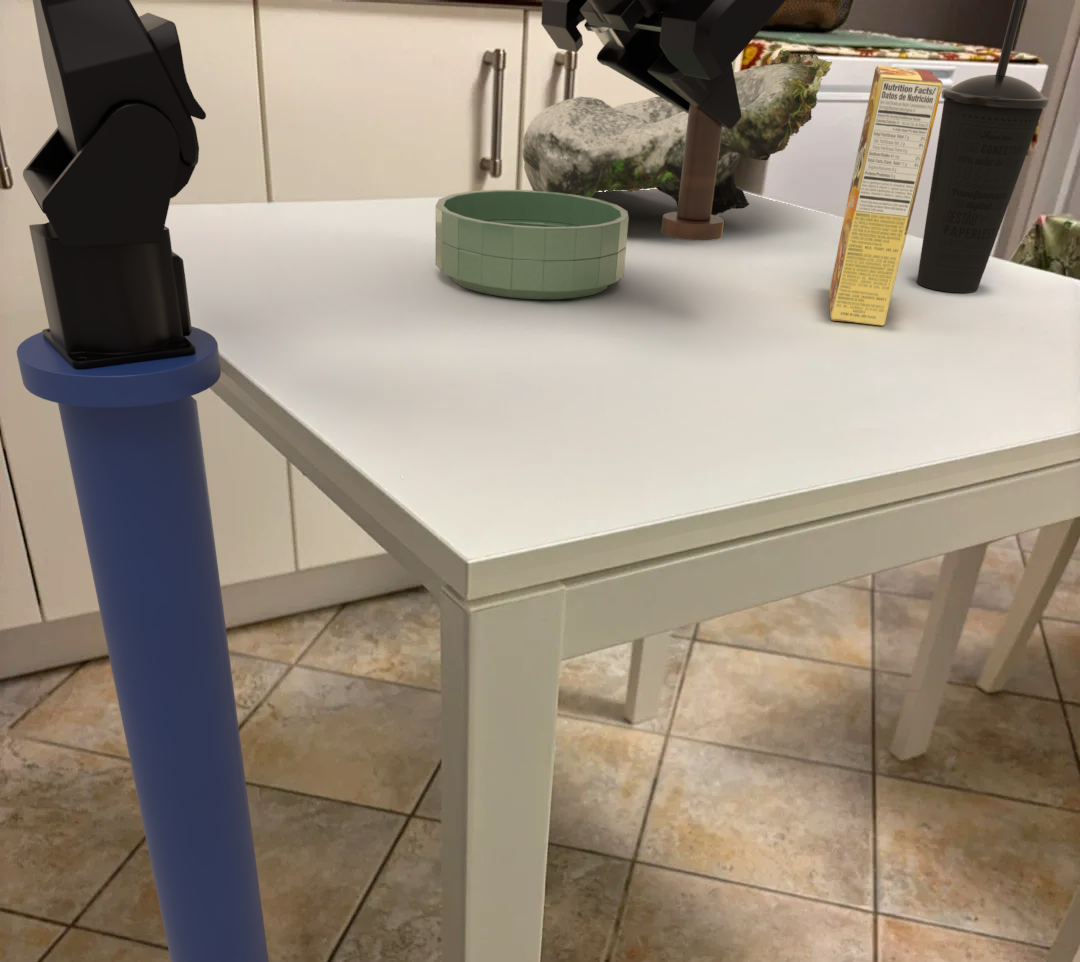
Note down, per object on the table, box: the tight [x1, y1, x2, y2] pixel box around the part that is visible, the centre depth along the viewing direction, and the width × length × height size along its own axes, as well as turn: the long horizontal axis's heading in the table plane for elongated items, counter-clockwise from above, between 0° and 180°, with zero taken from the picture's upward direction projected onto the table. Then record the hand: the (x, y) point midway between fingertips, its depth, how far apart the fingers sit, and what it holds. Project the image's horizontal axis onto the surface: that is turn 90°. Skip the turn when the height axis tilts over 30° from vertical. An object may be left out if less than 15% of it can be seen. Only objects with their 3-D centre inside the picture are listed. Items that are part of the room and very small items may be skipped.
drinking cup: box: [916, 0, 1050, 294], centre depth 84 cm, size 8×8×20 cm
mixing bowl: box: [435, 189, 630, 301], centre depth 83 cm, size 14×14×5 cm
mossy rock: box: [521, 49, 833, 216], centre depth 104 cm, size 29×30×15 cm
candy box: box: [829, 65, 944, 326], centre depth 78 cm, size 9×4×15 cm, turn 168°
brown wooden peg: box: [660, 103, 725, 242], centre depth 69 cm, size 4×4×13 cm
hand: (723, 120), depth 69 cm, fingers closed on brown wooden peg, 2 cm apart
